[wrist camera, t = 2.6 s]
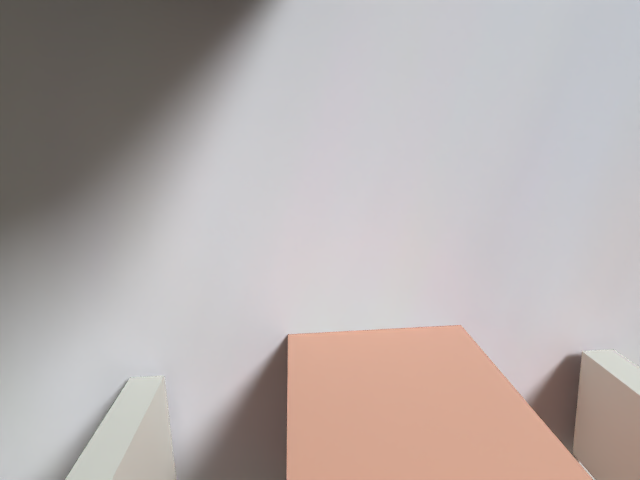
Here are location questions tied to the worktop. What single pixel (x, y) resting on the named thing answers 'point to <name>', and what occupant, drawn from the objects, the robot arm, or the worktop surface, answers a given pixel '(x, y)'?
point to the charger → (411, 411)
